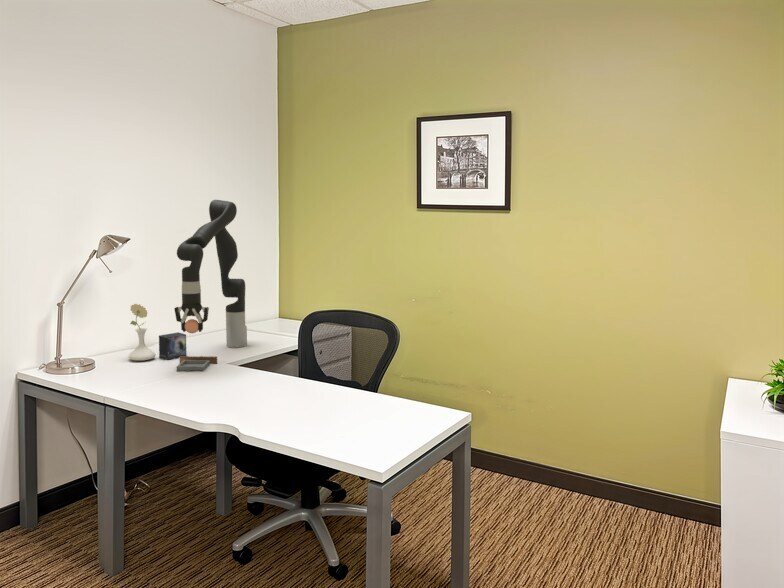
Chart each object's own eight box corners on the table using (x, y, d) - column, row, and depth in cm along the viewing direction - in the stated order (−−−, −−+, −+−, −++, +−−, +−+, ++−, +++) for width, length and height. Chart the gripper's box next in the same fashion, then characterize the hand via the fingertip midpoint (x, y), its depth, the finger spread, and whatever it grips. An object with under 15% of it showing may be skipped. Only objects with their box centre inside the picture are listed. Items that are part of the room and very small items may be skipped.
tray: (184, 364, 277) (183, 360, 276) (209, 364, 277) (209, 360, 277) (176, 371, 266) (176, 366, 266) (203, 371, 266) (203, 366, 266)
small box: (167, 360, 284) (166, 337, 283) (158, 358, 288) (157, 335, 287) (187, 356, 293) (186, 333, 291) (178, 354, 297) (178, 332, 295)
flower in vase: (161, 359, 287) (159, 303, 283) (138, 363, 278) (135, 306, 274) (144, 354, 294) (142, 301, 291) (121, 359, 285) (118, 304, 282)
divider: (180, 363, 280) (180, 356, 279) (217, 363, 280) (217, 356, 280) (179, 363, 279) (179, 357, 278) (216, 363, 279) (216, 357, 279)
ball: (192, 331, 273) (191, 317, 273) (202, 332, 271) (202, 318, 270) (181, 333, 268) (181, 319, 267) (192, 335, 265) (191, 320, 265)
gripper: (171, 292, 263) (172, 333, 265) (206, 293, 264) (207, 333, 266) (176, 290, 271) (177, 329, 273) (210, 290, 271) (211, 330, 273)
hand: (192, 331), depth 269 cm, fingers closed on ball, 6 cm apart
